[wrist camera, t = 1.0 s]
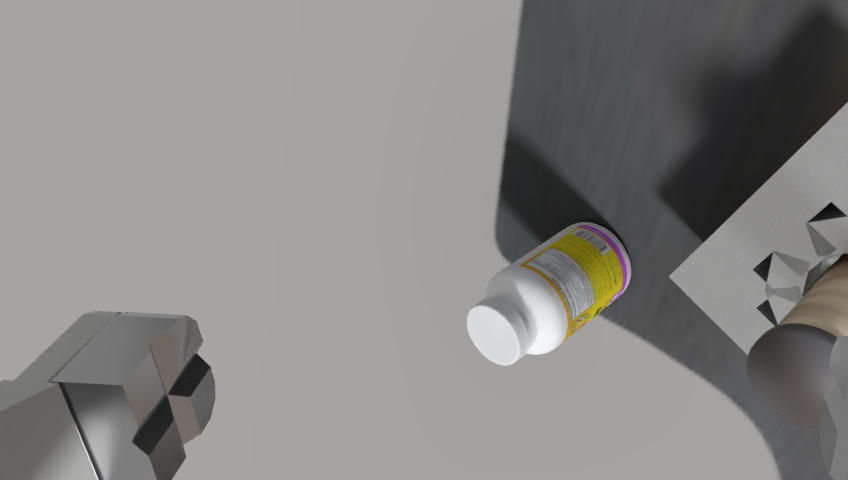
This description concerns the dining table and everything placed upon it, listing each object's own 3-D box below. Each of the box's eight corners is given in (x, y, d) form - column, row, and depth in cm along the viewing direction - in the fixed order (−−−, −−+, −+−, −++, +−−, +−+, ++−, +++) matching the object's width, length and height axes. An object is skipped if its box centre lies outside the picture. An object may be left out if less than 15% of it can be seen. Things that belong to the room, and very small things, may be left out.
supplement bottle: (579, 298, 62) (476, 377, 54) (551, 224, 61) (441, 294, 53) (647, 294, 57) (543, 380, 49) (617, 213, 56) (507, 288, 48)
